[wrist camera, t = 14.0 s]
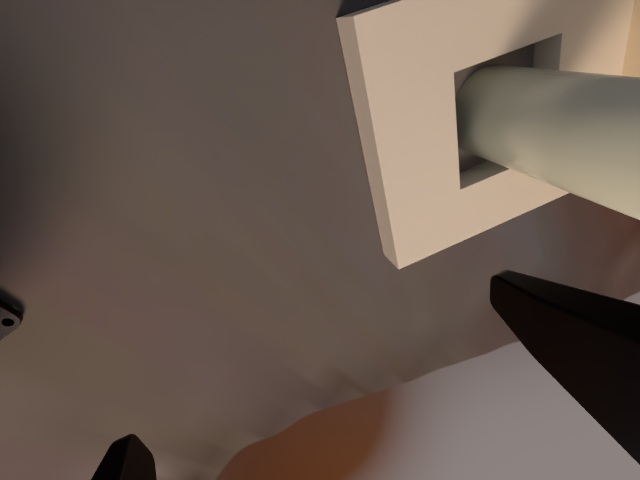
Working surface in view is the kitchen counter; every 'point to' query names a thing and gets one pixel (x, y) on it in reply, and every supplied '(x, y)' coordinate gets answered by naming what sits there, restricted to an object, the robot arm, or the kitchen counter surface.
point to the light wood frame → (440, 109)
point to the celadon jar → (557, 129)
